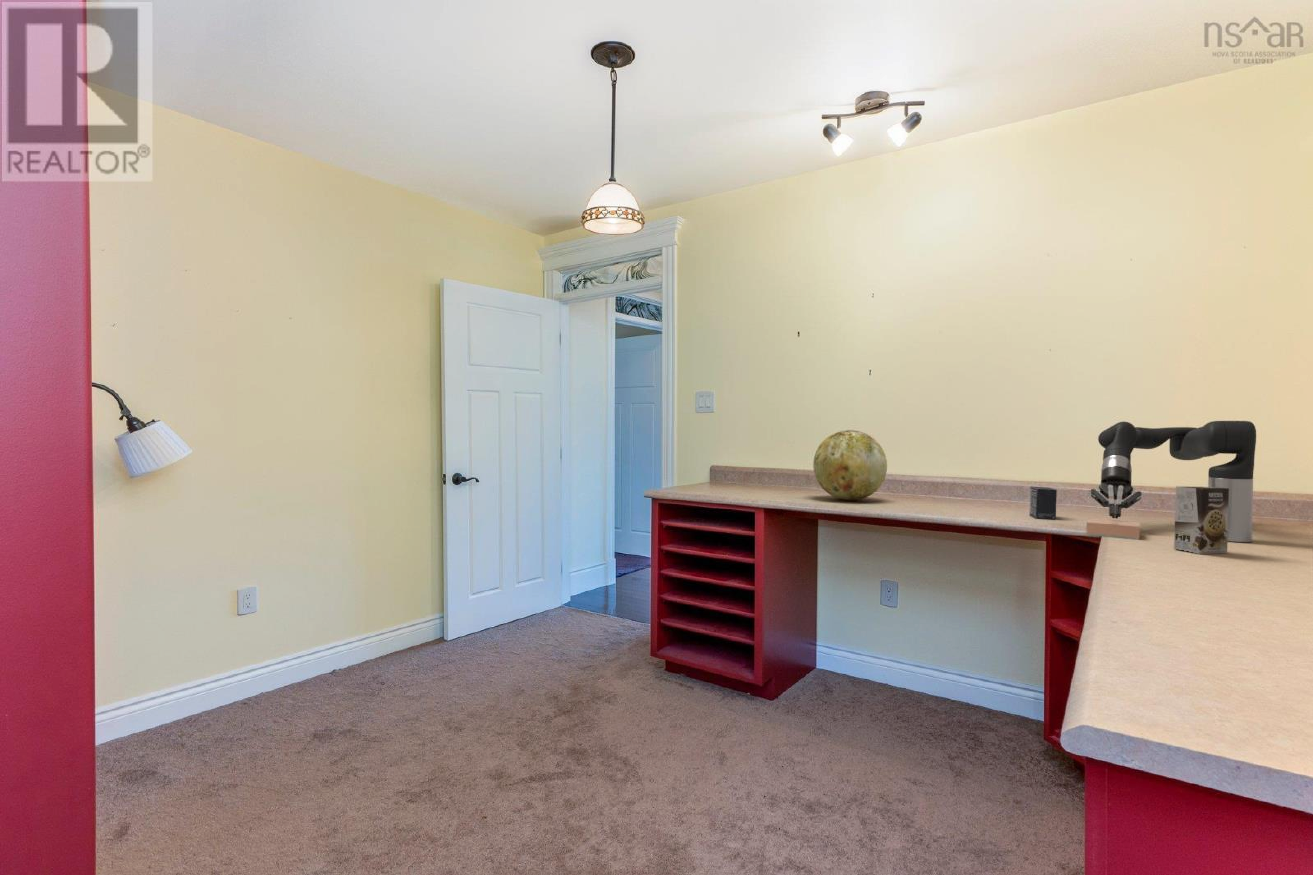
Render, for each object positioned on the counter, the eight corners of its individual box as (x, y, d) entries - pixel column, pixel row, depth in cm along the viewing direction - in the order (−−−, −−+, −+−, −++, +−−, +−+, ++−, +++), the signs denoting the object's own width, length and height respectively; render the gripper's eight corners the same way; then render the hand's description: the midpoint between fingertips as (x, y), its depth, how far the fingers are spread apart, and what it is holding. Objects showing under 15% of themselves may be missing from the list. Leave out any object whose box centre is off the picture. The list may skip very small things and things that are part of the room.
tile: (1089, 518, 189) (1086, 522, 180) (1139, 522, 182) (1139, 526, 172) (1089, 531, 189) (1086, 536, 180) (1139, 535, 182) (1139, 541, 172)
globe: (800, 500, 265) (801, 429, 264) (831, 495, 287) (832, 430, 287) (869, 506, 245) (870, 430, 245) (897, 500, 267) (898, 431, 267)
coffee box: (1200, 554, 151) (1201, 488, 151) (1172, 549, 157) (1174, 485, 157) (1229, 553, 153) (1230, 487, 153) (1200, 548, 159) (1202, 485, 159)
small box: (1057, 520, 212) (1058, 489, 212) (1035, 519, 214) (1036, 488, 214) (1049, 516, 221) (1050, 487, 221) (1028, 515, 224) (1029, 486, 224)
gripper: (1143, 482, 191) (1142, 527, 181) (1090, 480, 199) (1087, 522, 189) (1143, 465, 187) (1143, 510, 177) (1090, 464, 195) (1087, 506, 185)
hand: (1114, 516), depth 183 cm, fingers closed
